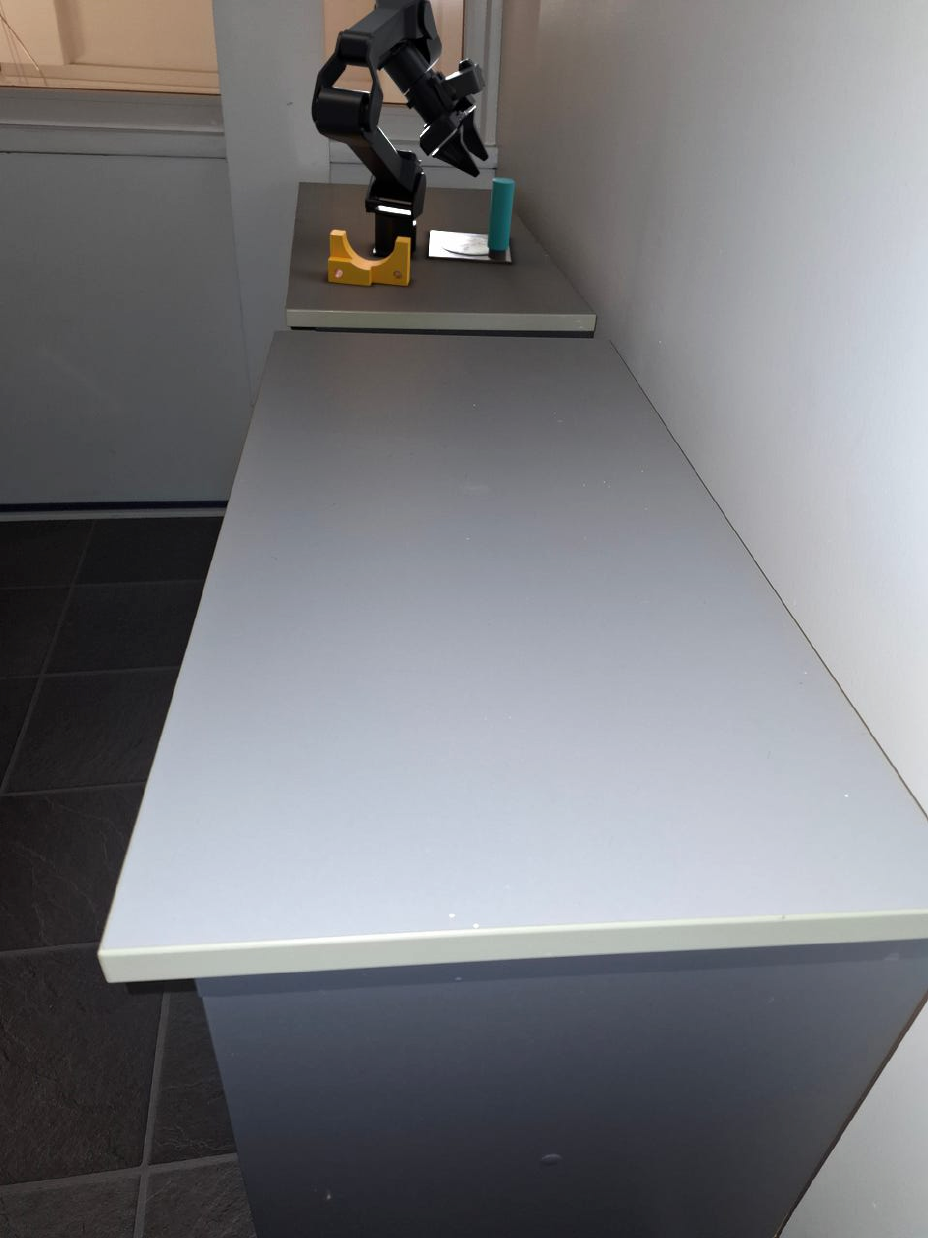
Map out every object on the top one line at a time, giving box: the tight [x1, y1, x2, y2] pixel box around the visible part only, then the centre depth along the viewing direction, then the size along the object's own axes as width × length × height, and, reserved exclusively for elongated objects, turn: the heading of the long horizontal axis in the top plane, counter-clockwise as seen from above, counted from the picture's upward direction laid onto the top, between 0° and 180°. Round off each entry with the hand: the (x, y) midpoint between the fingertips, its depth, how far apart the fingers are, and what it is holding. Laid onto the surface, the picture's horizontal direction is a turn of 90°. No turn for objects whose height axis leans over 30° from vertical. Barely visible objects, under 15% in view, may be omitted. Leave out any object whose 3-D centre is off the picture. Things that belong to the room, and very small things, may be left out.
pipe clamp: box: [327, 229, 411, 287], centre depth 132 cm, size 12×4×6 cm, turn 84°
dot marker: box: [487, 177, 516, 260], centre depth 142 cm, size 4×4×12 cm
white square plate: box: [428, 230, 512, 265], centre depth 150 cm, size 14×14×1 cm
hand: (482, 167), depth 139 cm, fingers open, 9 cm apart
